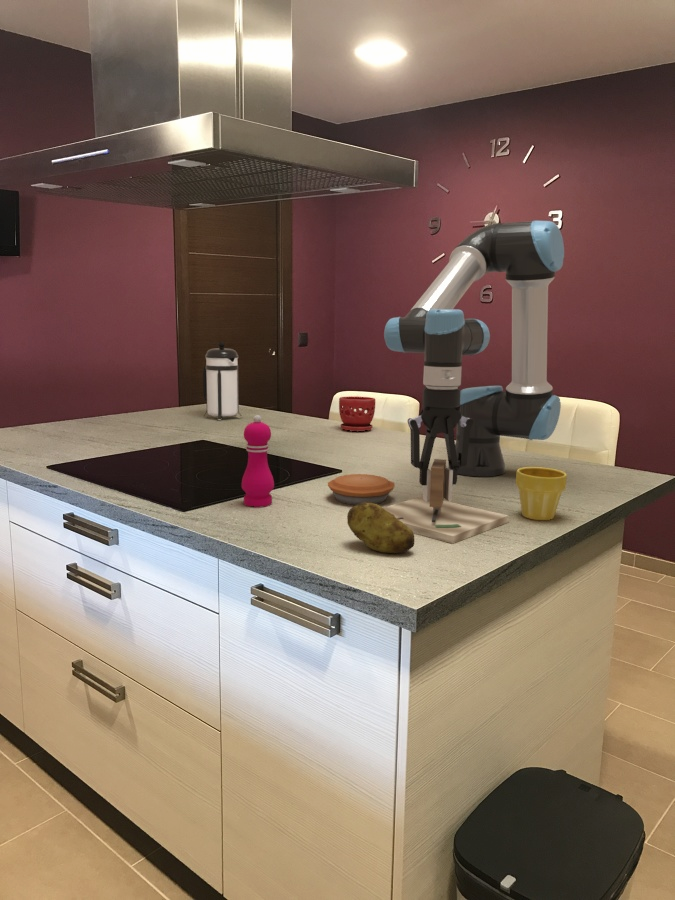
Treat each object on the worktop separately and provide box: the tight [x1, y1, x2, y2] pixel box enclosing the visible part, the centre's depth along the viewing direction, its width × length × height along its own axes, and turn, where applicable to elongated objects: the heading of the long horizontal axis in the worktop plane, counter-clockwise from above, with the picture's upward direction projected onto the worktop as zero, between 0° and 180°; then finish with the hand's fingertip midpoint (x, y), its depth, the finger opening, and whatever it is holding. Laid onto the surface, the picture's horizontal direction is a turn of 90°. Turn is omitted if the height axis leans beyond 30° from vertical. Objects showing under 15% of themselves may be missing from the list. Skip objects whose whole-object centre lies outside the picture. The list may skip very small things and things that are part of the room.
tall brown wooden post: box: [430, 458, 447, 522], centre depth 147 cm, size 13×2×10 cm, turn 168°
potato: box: [346, 502, 415, 554], centre depth 132 cm, size 8×13×8 cm, turn 38°
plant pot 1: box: [338, 396, 376, 432], centre depth 262 cm, size 13×13×12 cm
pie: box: [327, 473, 396, 506], centre depth 167 cm, size 16×16×5 cm
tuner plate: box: [382, 495, 510, 545], centre depth 150 cm, size 20×22×2 cm
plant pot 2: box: [515, 466, 568, 521], centre depth 154 cm, size 10×10×10 cm
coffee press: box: [202, 341, 243, 420], centre depth 284 cm, size 17×16×30 cm
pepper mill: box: [241, 414, 275, 508], centre depth 160 cm, size 7×7×20 cm
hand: (437, 499), depth 150 cm, fingers closed on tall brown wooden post, 4 cm apart
